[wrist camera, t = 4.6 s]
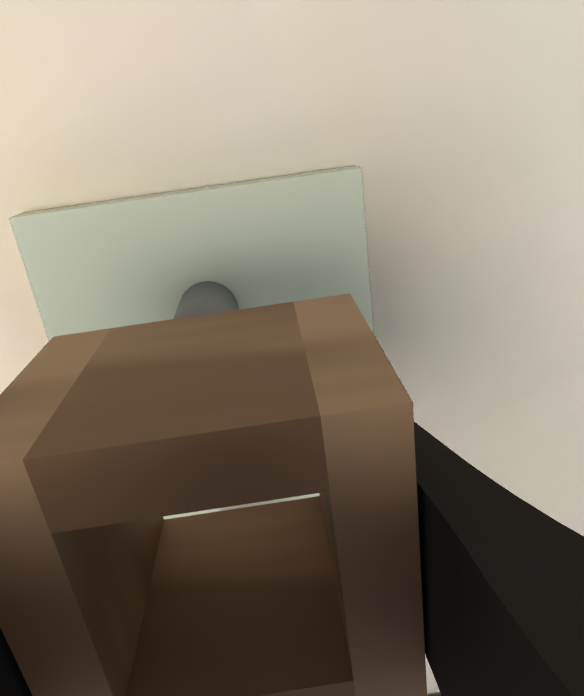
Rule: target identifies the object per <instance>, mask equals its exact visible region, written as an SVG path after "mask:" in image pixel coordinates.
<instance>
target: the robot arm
mask: <svg viewBox="0 0 584 696" xmlns="http://www.w3.org/2000/svg"><path fill="white" fill-rule="evenodd" d="M414 440H415V460H416V481H417V501H418V522H419V542H420V563H421V583H422V604H423V625H424V645H425V654H426V657H427V659H428V662H429V664H430V667H431V669H432V672H433V674H434V677H435V680H436V682H437V685H438V687H439V690H440V692H441V695H442V696H584V536H582V535H580V534H578V533H577V532H575V531H573V530H571V529H570V528H568V527H566V526H564V525H562V524H561V523H559V522H557V521H556V520H554V519H552V518H551V517H549V516H548V515H546V514H544V513H543V512H541V511H540V510H538V509H536V508H535V507H533V506H531V505H530V504H528V503H527V502H525V501H523V500H522V499H520V498H519V497H517V496H516V495H514V494H513V493H511V492H510V491H508V490H507V489H505V488H503V487H502V486H500V485H499V484H498V483H496V482H495V481H493V480H492V479H490V478H489V477H487V476H486V475H485V474H483V473H482V472H480V471H479V470H477V469H476V468H475V467H473V466H472V465H470V464H469V463H468V462H466V461H465V460H464V459H462V458H461V457H460V456H458V455H457V454H456V453H454V452H453V451H452V450H450V449H449V448H448V447H446V446H445V445H444V444H443V443H441V442H440V441H439V440H437V439H436V438H435V437H433V436H432V435H431V434H430V433H428V432H427V431H426V430H424V429H423V428H422V427H420V426H419V425H418V424H417V423H415V422H414ZM0 696H32V693H31V691H30V689H29V687H28V685H27V683H26V681H25V679H24V677H23V674H22V672H21V670H20V668H19V666H18V664H17V662H16V660H15V657H14V655H13V653H12V651H11V649H10V647H9V645H8V643H7V640H6V638H5V636H4V634H3V632H2V630H1V628H0Z"/></svg>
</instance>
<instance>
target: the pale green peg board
mask: <svg viewBox="0 0 584 696" xmlns="http://www.w3.org/2000/svg"><path fill="white" fill-rule="evenodd" d="M9 220H10V223H11V227H12V230H13V233H14V236H15V239H16V242H17V245H18V248H19V251H20V254H21V257H22V260H23V263H24V266H25V269H26V273H27V276H28V279H29V282H30V285H31V288H32V291H33V294H34V297H35V300H36V303H37V306H38V309H39V312H40V315H41V319H42V322H43V325H44V328H45V331H46V334H47V337H48V340H49V341H50V340H51V339H52V338H53V337H54V336H61V335H68V334H75V333H82V332H88V331H95V330H102V329H109V328H116V327H123V326H129V325H136V324H143V323H150V322H157V321H164V320H171V319H177V318H184V317H191V316H198V315H205V314H212V313H219V312H225V311H232V310H239V309H246V308H253V307H260V306H266V305H273V304H280V303H287V302H294V301H301V300H308V299H314V298H321V297H328V296H335V295H342V294H349V293H350V294H351V296H352V298H353V299H354V301H355V303H356V305H357V306H358V308H359V310H360V311H361V313H362V315H363V317H364V318H365V320H366V322H367V324H368V325H369V327H370V329H371V331H372V332H373V334H374V330H373V317H372V304H371V291H370V278H369V266H368V253H367V240H366V227H365V214H364V201H363V188H362V175H361V168H360V167H357V166H348V167H341V168H334V169H327V170H320V171H313V172H306V173H299V174H292V175H285V176H278V177H271V178H264V179H257V180H250V181H243V182H236V183H229V184H222V185H215V186H208V187H201V188H194V189H187V190H180V191H173V192H166V193H159V194H152V195H145V196H138V197H131V198H124V199H117V200H110V201H103V202H96V203H89V204H82V205H74V206H67V207H60V208H53V209H46V210H39V211H32V212H25V213H21V214H18V215H16V216H13V217H11V218H9ZM316 496H319V493H316V494H309V495H303V496H296V497H290V498H283V499H276V500H270V501H263V502H256V503H250V504H243V505H237V506H230V507H223V508H217V509H210V510H204V511H197V512H190V513H184V514H177V515H171V516H164V517H163V518H164V519H171V518H178V517H184V516H191V515H197V514H204V513H211V512H217V511H224V510H230V509H237V508H244V507H250V506H257V505H263V504H270V503H277V502H283V501H290V500H296V499H303V498H310V497H316Z"/></svg>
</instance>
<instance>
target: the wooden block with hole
mask: <svg viewBox="0 0 584 696" xmlns="http://www.w3.org/2000/svg"><path fill="white" fill-rule="evenodd" d="M316 493H319V496H316V497H310V498H303V499H296V500H290V501H283V502H277V503H270V504H263V505H257V506H250V507H244V508H237V509H230V510H224V511H217V512H211V513H204V514H197V515H191V516H184V517H178V518H171V519H164V518H163V517H164V516H171V515H177V514H184V513H190V512H197V511H204V510H210V509H217V508H223V507H230V506H237V505H243V504H250V503H256V502H263V501H270V500H276V499H283V498H290V497H296V496H303V495H309V494H316ZM0 628H1V630H2V632H3V634H4V636H5V638H6V640H7V643H8V645H9V647H10V649H11V651H12V653H13V655H14V657H15V660H16V662H17V664H18V666H19V668H20V670H21V672H22V674H23V677H24V679H25V681H26V683H27V685H28V687H29V689H30V691H31V693H32V696H427V686H426V666H425V645H424V625H423V604H422V583H421V563H420V542H419V522H418V501H417V481H416V460H415V440H414V419H413V402H412V400H411V398H410V396H409V395H408V393H407V391H406V390H405V388H404V386H403V384H402V383H401V381H400V379H399V377H398V376H397V374H396V372H395V370H394V369H393V367H392V365H391V364H390V362H389V360H388V358H387V357H386V355H385V353H384V351H383V350H382V348H381V346H380V344H379V343H378V341H377V339H376V338H375V336H374V334H373V332H372V331H371V329H370V327H369V325H368V324H367V322H366V320H365V318H364V317H363V315H362V313H361V311H360V310H359V308H358V306H357V305H356V303H355V301H354V299H353V298H352V296H351V294H350V293H349V294H342V295H335V296H328V297H321V298H314V299H308V300H301V301H294V302H287V303H280V304H273V305H266V306H260V307H253V308H246V309H239V310H232V311H225V312H219V313H212V314H205V315H198V316H191V317H184V318H177V319H171V320H164V321H157V322H150V323H143V324H136V325H129V326H123V327H116V328H109V329H102V330H95V331H88V332H82V333H75V334H68V335H61V336H54V337H53V338H52V339H51V340H50V341H49V342H48V343H47V344H46V345H45V346H44V347H43V349H42V350H41V351H40V352H39V353H38V354H37V355H36V356H35V357H34V358H33V360H32V361H31V362H30V363H29V364H28V365H27V366H26V367H25V368H24V369H23V371H22V372H21V373H20V374H19V375H18V376H17V377H16V378H15V379H14V380H13V382H12V383H11V384H10V385H9V386H8V387H7V388H6V389H5V390H4V391H3V393H2V394H1V395H0Z"/></svg>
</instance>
